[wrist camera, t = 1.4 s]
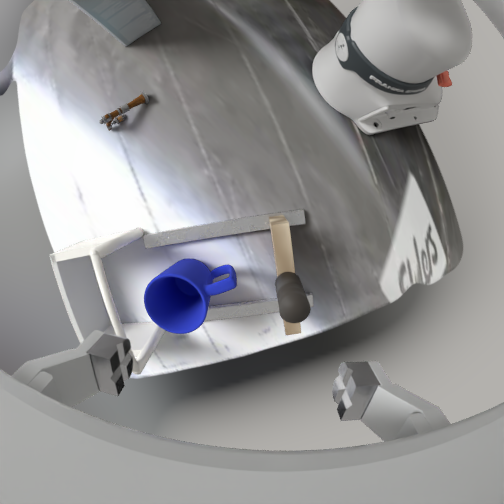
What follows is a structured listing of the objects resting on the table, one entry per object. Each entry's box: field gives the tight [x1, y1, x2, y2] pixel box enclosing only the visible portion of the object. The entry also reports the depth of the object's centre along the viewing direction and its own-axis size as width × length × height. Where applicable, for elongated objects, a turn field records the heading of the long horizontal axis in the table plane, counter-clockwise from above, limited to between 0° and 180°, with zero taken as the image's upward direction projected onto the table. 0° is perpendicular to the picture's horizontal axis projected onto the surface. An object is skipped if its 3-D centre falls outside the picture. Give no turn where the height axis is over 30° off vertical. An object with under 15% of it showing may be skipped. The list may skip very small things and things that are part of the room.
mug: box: [144, 259, 237, 334], centre depth 36 cm, size 8×12×10 cm
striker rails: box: [143, 209, 314, 321], centre depth 40 cm, size 24×15×1 cm, turn 99°
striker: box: [269, 215, 310, 335], centre depth 32 cm, size 3×14×14 cm, turn 9°
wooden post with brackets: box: [100, 91, 148, 131], centre depth 34 cm, size 2×8×4 cm, turn 123°
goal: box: [49, 228, 165, 374], centre depth 35 cm, size 13×18×14 cm
